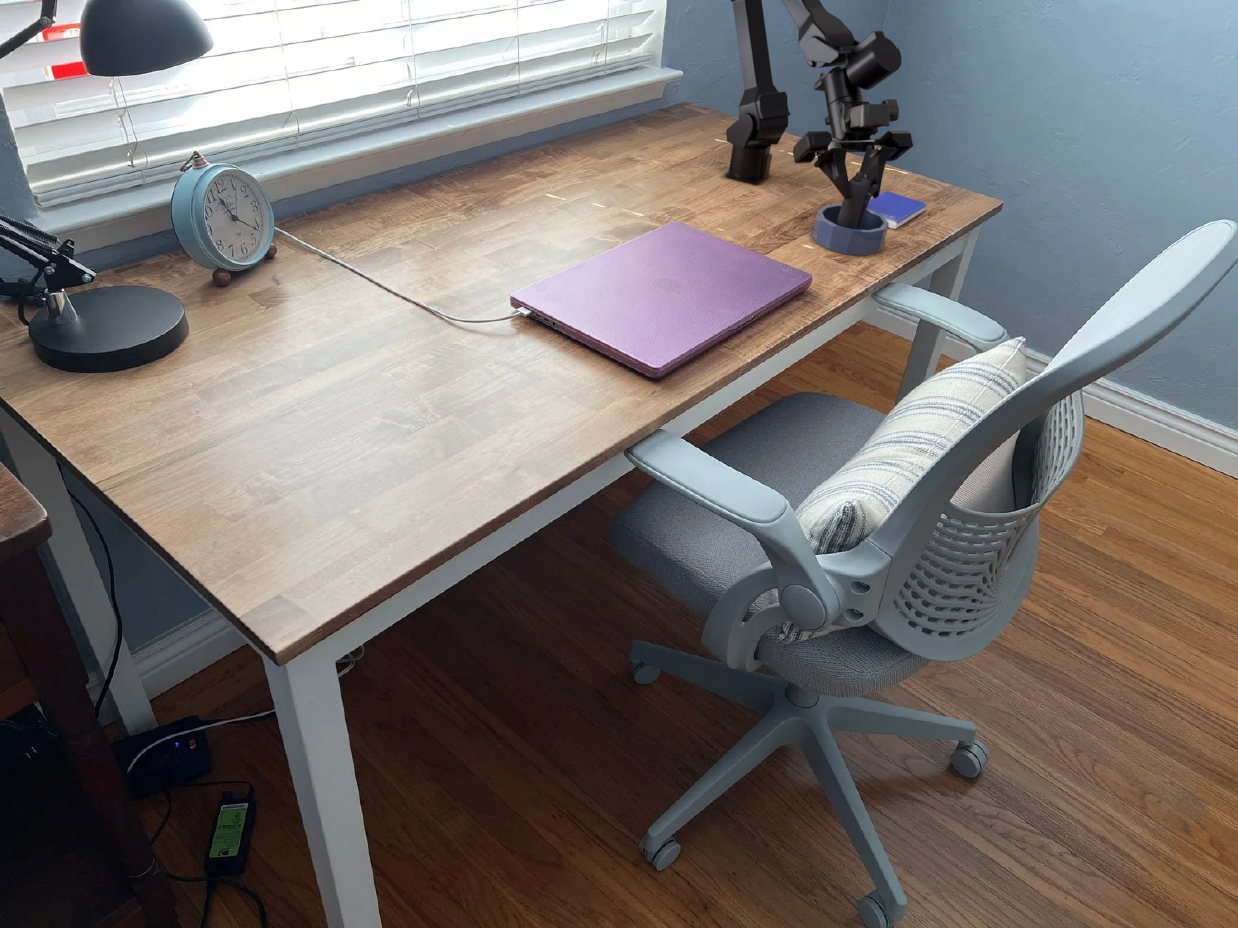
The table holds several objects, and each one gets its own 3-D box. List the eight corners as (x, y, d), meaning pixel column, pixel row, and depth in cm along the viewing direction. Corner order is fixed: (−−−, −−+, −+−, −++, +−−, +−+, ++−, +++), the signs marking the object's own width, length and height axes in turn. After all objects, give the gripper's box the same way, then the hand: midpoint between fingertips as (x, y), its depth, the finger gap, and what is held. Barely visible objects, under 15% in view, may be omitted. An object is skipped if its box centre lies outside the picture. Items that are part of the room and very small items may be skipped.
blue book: (898, 221, 161) (927, 203, 169) (854, 206, 164) (885, 190, 172) (895, 229, 161) (924, 211, 170) (852, 215, 165) (883, 198, 173)
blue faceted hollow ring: (804, 243, 154) (809, 219, 151) (825, 221, 162) (830, 199, 159) (871, 261, 150) (877, 237, 147) (889, 238, 158) (895, 215, 156)
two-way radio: (838, 229, 159) (864, 140, 150) (863, 237, 157) (891, 148, 148) (829, 240, 154) (855, 149, 145) (855, 248, 153) (883, 157, 144)
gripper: (817, 77, 141) (834, 177, 140) (924, 78, 147) (942, 175, 145) (784, 114, 152) (800, 207, 150) (885, 114, 157) (902, 204, 156)
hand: (862, 198), depth 150 cm, fingers closed on two-way radio, 5 cm apart
